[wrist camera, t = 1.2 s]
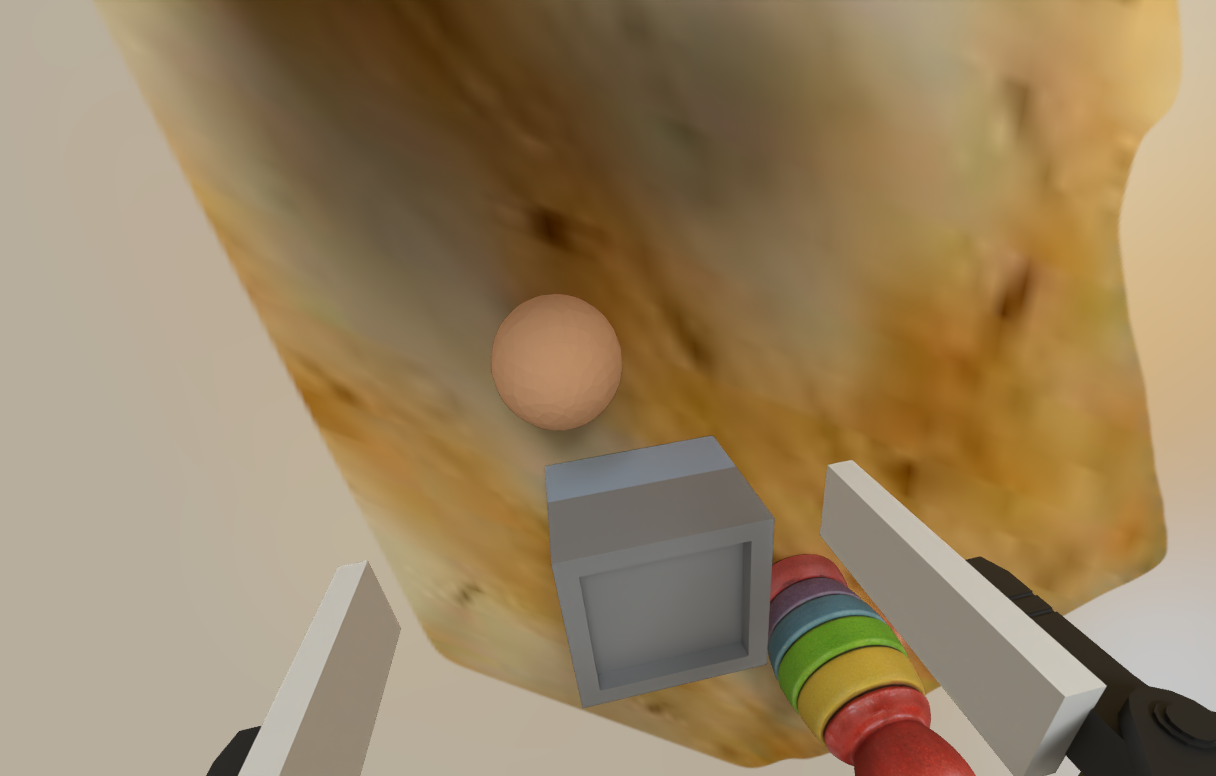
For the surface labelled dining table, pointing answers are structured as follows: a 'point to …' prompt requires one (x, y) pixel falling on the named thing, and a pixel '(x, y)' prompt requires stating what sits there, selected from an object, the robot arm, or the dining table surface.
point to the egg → (556, 361)
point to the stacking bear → (851, 675)
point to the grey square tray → (659, 567)
